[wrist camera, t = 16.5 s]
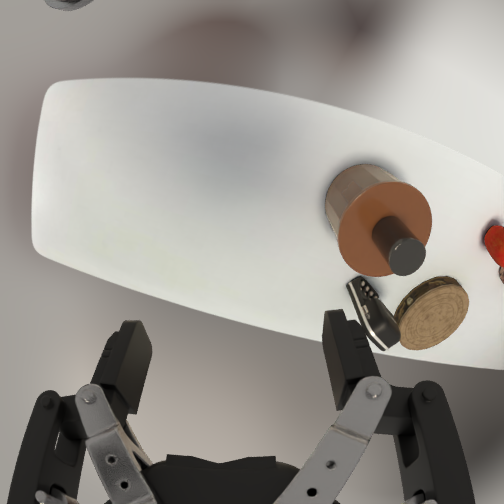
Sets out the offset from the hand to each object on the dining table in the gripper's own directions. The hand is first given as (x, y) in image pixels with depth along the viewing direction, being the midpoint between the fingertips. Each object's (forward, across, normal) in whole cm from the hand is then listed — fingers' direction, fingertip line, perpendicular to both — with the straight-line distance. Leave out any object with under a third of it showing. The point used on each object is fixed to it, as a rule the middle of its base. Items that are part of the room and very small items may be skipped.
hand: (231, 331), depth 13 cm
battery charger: (+28, -18, +21) cm, 39 cm away
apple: (+28, -43, +13) cm, 53 cm away
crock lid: (+20, -16, +6) cm, 26 cm away
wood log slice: (+28, -33, +29) cm, 52 cm away
